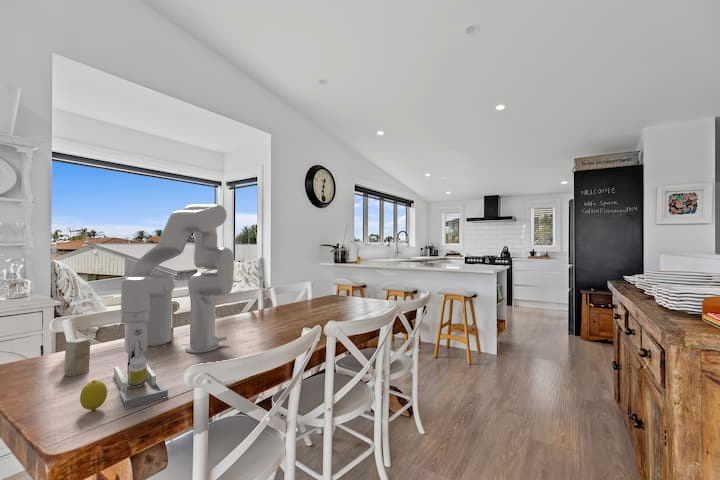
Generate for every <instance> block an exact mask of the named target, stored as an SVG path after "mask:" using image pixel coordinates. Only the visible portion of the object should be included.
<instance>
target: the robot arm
mask: <svg viewBox="0 0 720 480" xmlns="http://www.w3.org/2000/svg"><path fill="white" fill-rule="evenodd" d="M227 213H228V212H227V209H225V207H224V206H223V205H221V204H214V203H213V204H212V203H211V204H210V203H209V204H207V203H206V204H205V203H204V204H202V203H200V204H199V203H197V204H189V205H187V206H185V207H184V208H183V209H182V210H176V211H173V212H172V213H171V214H170V215H169V217H168V220H167V222H166V224H165V226H164V228H163V231H162V233H161V236H160V238H159V241H158V242H157V243H156V245H155V246H154V247H152V248H151V249H149V250H148V251H147V252H146V253H145V254H144V255H142V256H141V257H140V258H139V259H138V260H137V261H136V263H135V264H134V266H133V268H132V270H131V272H130V274H129V277H126V278H124V279H122V280H121V291H120V292H121V293H120V294H121V296H120V299H121V300H120V323H121V324H124V349H125V352H126V354H127V355H128V356H127V361H128V362H127V368H128V367H129V365H130V360H131V359H132V358H133V357H135V359H137V358H140V356H142V355H141V353H144V354H146V353H147V352H148V346H147V326H146V321H148V320H149V307H150V298H152V297H165V296H167V295H169V294H170V293H171V292H172V293H173V291H174V289H175V281H174V280H173V278H172V277H171V276H168V275H164V274H154V273H153V274H152V272H153V271H154V270H155V268H157V267H158V266H160V265H161V264H162V263H165V262H167V261H169V260H171V259H174V258H176V257H178V256H180V255H181V254H183V252H184V251H185V248H186V244H187V242H188V240H189V237H190V235H191V234H192V233H194V236H195V239H194V254H193V264H194V267H196V268H197V269H199V270H200V269H201V270H216V272H197V273H194V274H192V275H191V276H190V277H189V279H188V282H187V287H188V288H187V289H188V292H189V293H188V294H189V298H190V302H189V303H190V317H189V323H190V324H189V344H188V345H186V346H185V351H186V352H187V353H191V354H202V353H208V352H212V351H215V350H217V349H219V346H220V344H219V343H220V342H224V341H228V340H227V339H228V338H227V335H224V336H223V335H218V336H217V335H216V310H217V309H216V302H215V300H214V298H213V297H227V296H229V295H230V293H231V292H232V290H233V285H234V273H235V271H234V269H235V257H234V253H233V251H232V250H231V249H230V247H229V248H228V247H225V246H224V247H223V246H218V234H217V230H215V229H216V228H218V227H220V226H222V225H223V224H224V223H225V222H226V220H227V216H228V214H227ZM127 375H128V372H127Z"/></svg>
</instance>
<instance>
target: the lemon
mask: <svg viewBox="0 0 720 480" xmlns="http://www.w3.org/2000/svg"><path fill="white" fill-rule="evenodd" d="M79 395H80V396H79V402H80V404H81V405H80V406H82V408H84V409H86V410H89V411H92V412H94V411H96V410H97V409H98V408H100V407H101V406H102V405H103V404H104V402H106V400H107V396H108V390H107V386H106V384H105V383H104V382H103V381H100V380H96V379H93V380H92V381H90V382H88V383H87V384H86V385H85V386H84V387H83V388H82V389H81V392H80V394H79Z"/></svg>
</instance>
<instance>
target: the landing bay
mask: <svg viewBox="0 0 720 480" xmlns="http://www.w3.org/2000/svg"><path fill="white" fill-rule="evenodd" d="M154 387H155V388H156V391H153V392H149V393H145V394H142V395H139V396H135V397H130V398H129V397H128V396H127V394H126V393H125V392H124V391H121V390H120V391H119V397H120V399H121V401H122V403H123V405H124V408H125V409H129V408H133V407H136V406H139V405H140V406H141V405H144V404H146V402H147V403H150V402H149V401H151V402H154V401H153V400H155V401H157V400H156V399H159V400H161V399H160V398H162V399H164V398H163V397H166V398H168V397H169V389H168V388H164V386H163V385H162V384H161V383H160V381H158V382H157V381H156V383H155V386H154ZM157 390H159V391H157ZM167 396H168V397H167ZM143 403H144V404H143Z"/></svg>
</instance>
